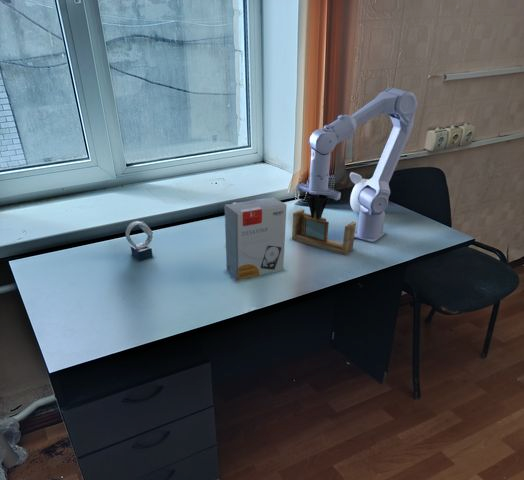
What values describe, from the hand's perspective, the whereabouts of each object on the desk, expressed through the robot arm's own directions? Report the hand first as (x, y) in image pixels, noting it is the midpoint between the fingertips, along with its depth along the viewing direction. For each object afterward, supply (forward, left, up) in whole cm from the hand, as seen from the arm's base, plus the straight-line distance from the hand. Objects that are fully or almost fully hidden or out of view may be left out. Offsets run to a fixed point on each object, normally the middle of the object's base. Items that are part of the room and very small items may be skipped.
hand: (316, 217), depth 152 cm
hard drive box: (+27, -4, -9) cm, 29 cm away
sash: (0, 0, -7) cm, 7 cm away
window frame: (-1, +2, -9) cm, 9 cm away
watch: (+40, -38, -9) cm, 56 cm away
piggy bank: (-34, 0, -9) cm, 35 cm away
